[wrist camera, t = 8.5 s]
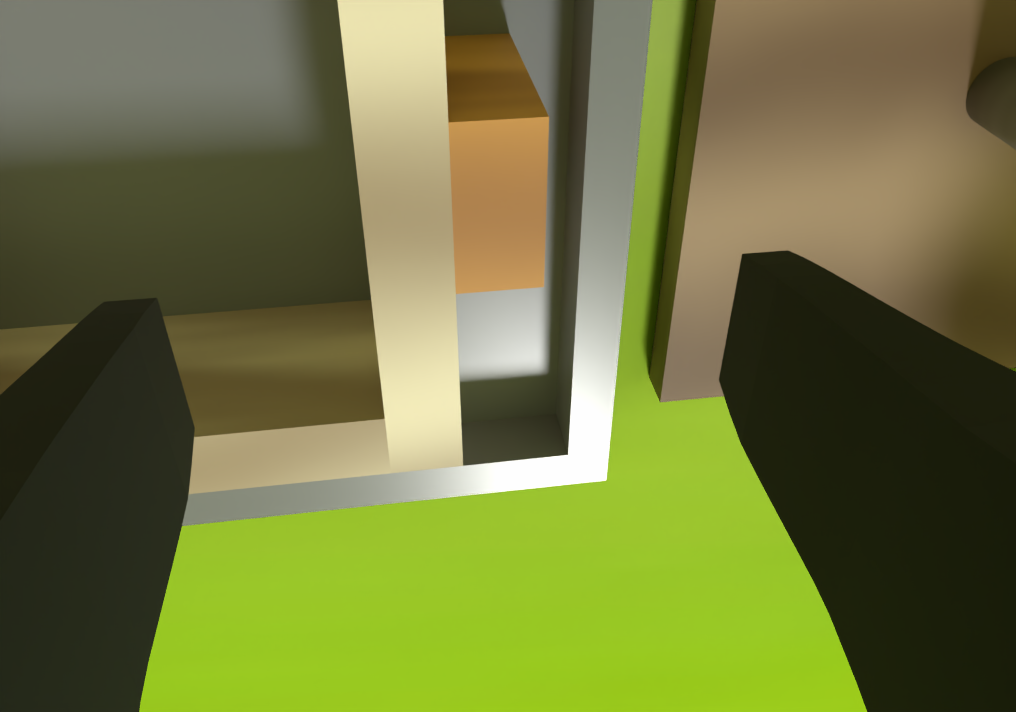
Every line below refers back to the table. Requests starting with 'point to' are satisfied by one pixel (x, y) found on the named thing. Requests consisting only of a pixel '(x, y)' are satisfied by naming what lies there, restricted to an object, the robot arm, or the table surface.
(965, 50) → the stake board
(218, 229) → the tray
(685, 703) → the table surface
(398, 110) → the cream square frame
